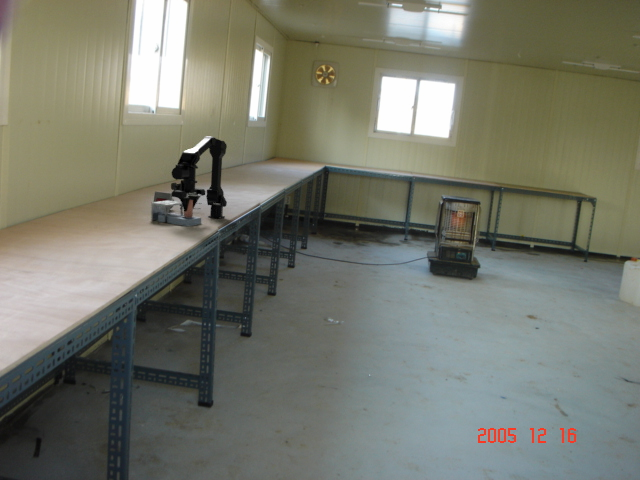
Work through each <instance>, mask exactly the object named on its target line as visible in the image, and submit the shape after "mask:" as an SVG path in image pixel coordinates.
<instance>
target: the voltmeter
mask: <svg viewBox="0 0 640 480" xmlns="http://www.w3.org/2000/svg"><path fill="white" fill-rule="evenodd" d="M199 196H203V197H204V196H205V195H201V194H199ZM167 200H169V201H175V199H174V197H172V192H163V191H154V196H153V202H159V201H167ZM179 200H180V199H179ZM179 202H181V200H180V201H179ZM197 204H199V205H201V203H200V202H199V203H198V202H197V203H196V204H195V205H197ZM179 206H180V207H179V209H180V210H181V205H179ZM173 208H174V206H169V213H171V209H173ZM193 210H201V208H198V207H197V208H196V207H194V208H193ZM183 212H184V208H183Z"/></svg>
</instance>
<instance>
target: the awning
mask: <svg viewBox="0 0 640 480" xmlns="http://www.w3.org/2000/svg"><path fill="white" fill-rule="evenodd" d="M180 205H181V206H180ZM169 206H173V207H174V206H180V207H181V209H180V214H182V215H184V211H183V210H184V209H183V205H182V202H181V201H175V200H174V201H169V200H167V201H159V202H154V201H152V202H151V206H150V208H151V210H150V220H151V221H158V215H162V214H165V222H164V224H168V223H167V214H168V213H170V212H169Z"/></svg>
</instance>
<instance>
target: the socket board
mask: <svg viewBox="0 0 640 480" xmlns="http://www.w3.org/2000/svg"><path fill="white" fill-rule="evenodd" d="M157 221H158V222H161V223H165V214H162V215H158V220H157ZM166 224H173V225H178V226H184V227H193V226H196V225H201V224H202V217H200V216H194V215H193V217H184V214H183V215H182V214H181V213H174V212H169V213H168V214H167V223H166Z"/></svg>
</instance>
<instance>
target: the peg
mask: <svg viewBox="0 0 640 480" xmlns="http://www.w3.org/2000/svg"><path fill="white" fill-rule="evenodd" d="M193 210H194V209H193V200H191V199H190V201H189V205H188V209H187V211H183V215H184V217H193V216H194V215H193V212H194V211H193Z"/></svg>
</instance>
